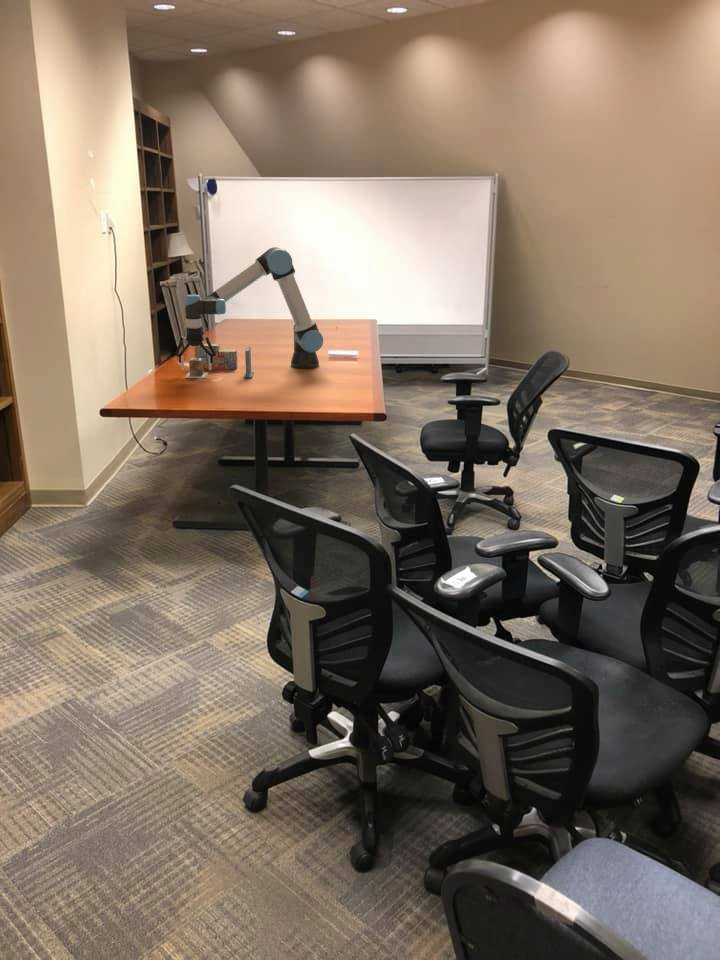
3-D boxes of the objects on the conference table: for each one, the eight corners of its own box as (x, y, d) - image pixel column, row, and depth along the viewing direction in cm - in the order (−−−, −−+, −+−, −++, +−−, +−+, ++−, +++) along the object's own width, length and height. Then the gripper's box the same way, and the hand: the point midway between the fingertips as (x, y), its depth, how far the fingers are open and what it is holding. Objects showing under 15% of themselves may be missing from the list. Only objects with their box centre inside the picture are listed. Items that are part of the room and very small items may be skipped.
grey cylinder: (203, 373, 387) (202, 357, 384) (202, 376, 381) (201, 359, 379) (191, 373, 387) (190, 357, 384) (189, 376, 381) (188, 359, 378)
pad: (208, 373, 390) (208, 372, 390) (205, 378, 379) (205, 377, 379) (188, 373, 390) (188, 372, 389) (184, 378, 378) (184, 377, 378)
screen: (253, 373, 392) (252, 346, 387) (251, 378, 380) (250, 350, 375) (245, 373, 391) (244, 346, 386) (243, 378, 380) (242, 350, 375)
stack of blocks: (237, 366, 407) (236, 343, 403) (236, 369, 401) (235, 345, 397) (197, 366, 406) (196, 343, 402) (195, 368, 400) (194, 345, 396)
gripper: (220, 326, 380) (222, 368, 387) (169, 325, 379) (172, 367, 386) (218, 328, 373) (220, 371, 380) (167, 328, 372) (170, 370, 379)
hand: (196, 369), depth 383 cm, fingers open, 13 cm apart
